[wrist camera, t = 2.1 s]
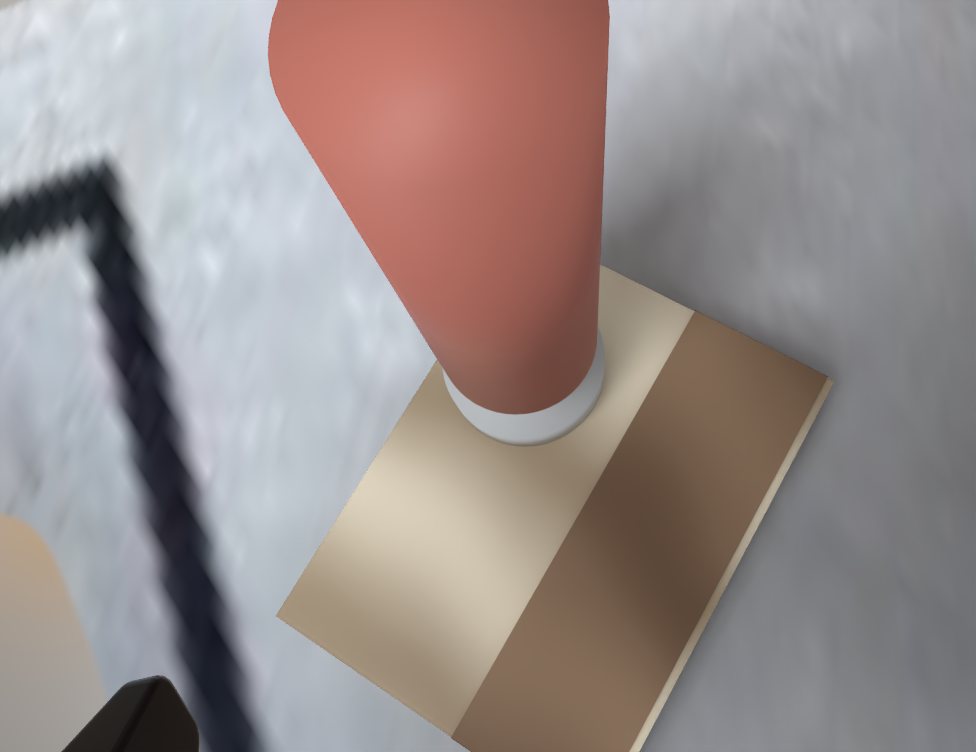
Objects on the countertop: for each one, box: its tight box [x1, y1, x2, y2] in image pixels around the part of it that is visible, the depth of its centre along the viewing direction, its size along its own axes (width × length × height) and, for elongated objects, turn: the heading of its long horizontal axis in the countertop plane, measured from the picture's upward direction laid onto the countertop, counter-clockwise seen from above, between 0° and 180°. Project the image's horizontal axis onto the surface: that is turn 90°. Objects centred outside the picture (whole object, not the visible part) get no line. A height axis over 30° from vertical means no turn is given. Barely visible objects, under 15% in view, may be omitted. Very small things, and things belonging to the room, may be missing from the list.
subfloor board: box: [276, 264, 834, 752], centre depth 21 cm, size 12×9×1 cm
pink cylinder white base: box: [268, 0, 610, 447], centre depth 15 cm, size 4×4×13 cm
